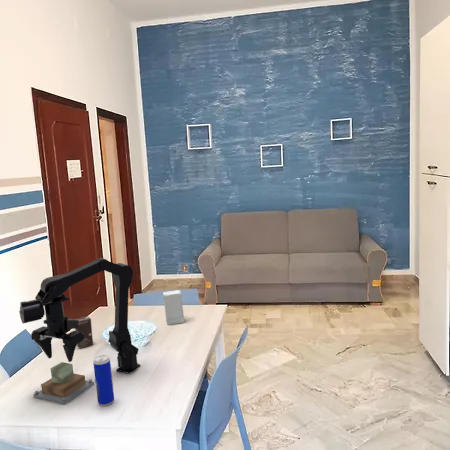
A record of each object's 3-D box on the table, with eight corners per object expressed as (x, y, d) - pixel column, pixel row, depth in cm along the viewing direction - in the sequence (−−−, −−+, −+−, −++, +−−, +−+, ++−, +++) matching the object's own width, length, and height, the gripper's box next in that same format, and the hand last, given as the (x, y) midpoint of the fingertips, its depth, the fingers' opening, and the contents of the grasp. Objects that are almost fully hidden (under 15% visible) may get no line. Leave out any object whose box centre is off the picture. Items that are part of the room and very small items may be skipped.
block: (74, 377, 158) (72, 364, 157) (63, 384, 154) (61, 370, 153) (63, 375, 160) (61, 362, 160) (52, 382, 156) (50, 368, 155)
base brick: (85, 383, 160) (84, 375, 159) (64, 397, 151) (63, 389, 150) (64, 379, 164) (63, 371, 164) (42, 392, 155) (41, 384, 155)
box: (79, 349, 193) (76, 321, 191) (76, 346, 196) (73, 319, 195) (94, 345, 196) (91, 318, 194) (90, 342, 200) (87, 315, 198)
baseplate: (94, 384, 161) (93, 379, 160) (64, 404, 148) (63, 399, 148) (64, 378, 167) (63, 373, 167) (33, 397, 155) (32, 392, 154)
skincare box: (182, 319, 221) (180, 289, 219) (184, 323, 215) (182, 292, 213) (165, 321, 219) (162, 291, 217) (166, 325, 213) (163, 294, 211)
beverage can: (99, 398, 151) (94, 355, 149) (115, 397, 151) (110, 353, 149) (96, 407, 146) (91, 362, 143) (113, 405, 146) (108, 360, 144)
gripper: (93, 310, 157) (97, 353, 159) (52, 305, 165) (57, 347, 167) (69, 321, 147) (74, 367, 149) (27, 316, 155) (33, 359, 157)
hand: (60, 359), depth 156 cm, fingers open, 9 cm apart
